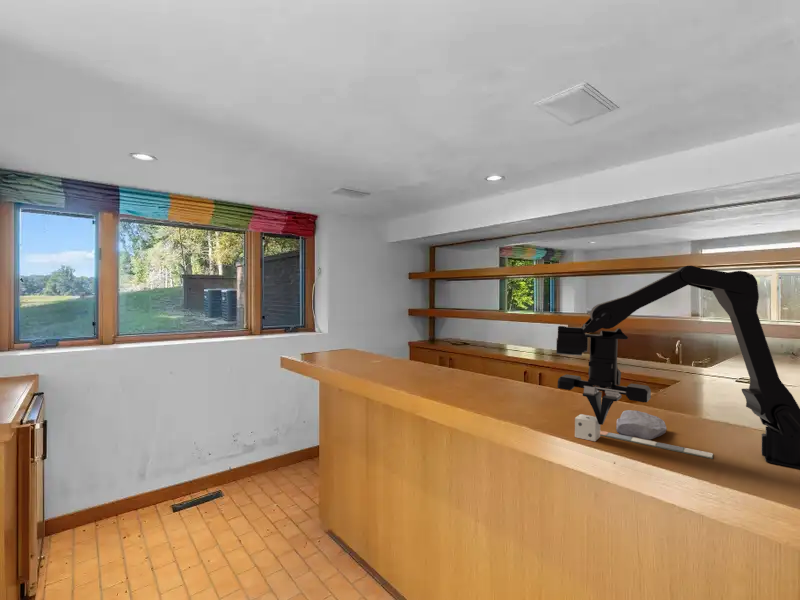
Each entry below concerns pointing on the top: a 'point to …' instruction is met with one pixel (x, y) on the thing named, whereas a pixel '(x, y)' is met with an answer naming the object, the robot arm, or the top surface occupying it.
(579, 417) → the die
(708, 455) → the strip
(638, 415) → the stone block
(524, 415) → the top surface
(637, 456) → the top surface
